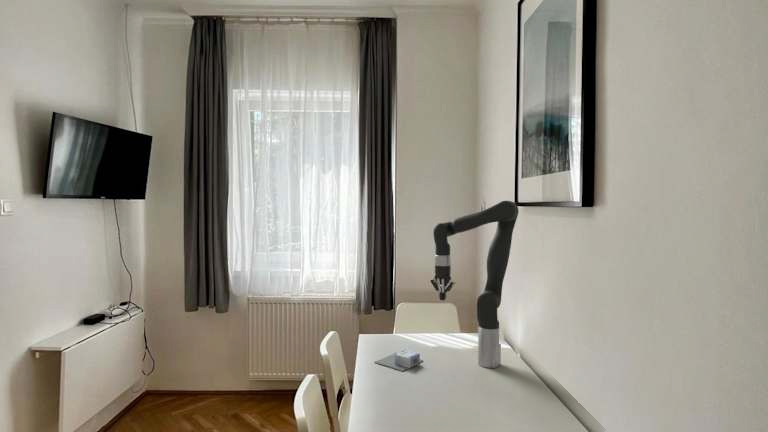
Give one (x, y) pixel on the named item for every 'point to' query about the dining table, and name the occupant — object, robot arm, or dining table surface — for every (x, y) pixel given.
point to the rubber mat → (392, 363)
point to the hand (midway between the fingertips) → (442, 300)
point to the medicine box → (407, 359)
